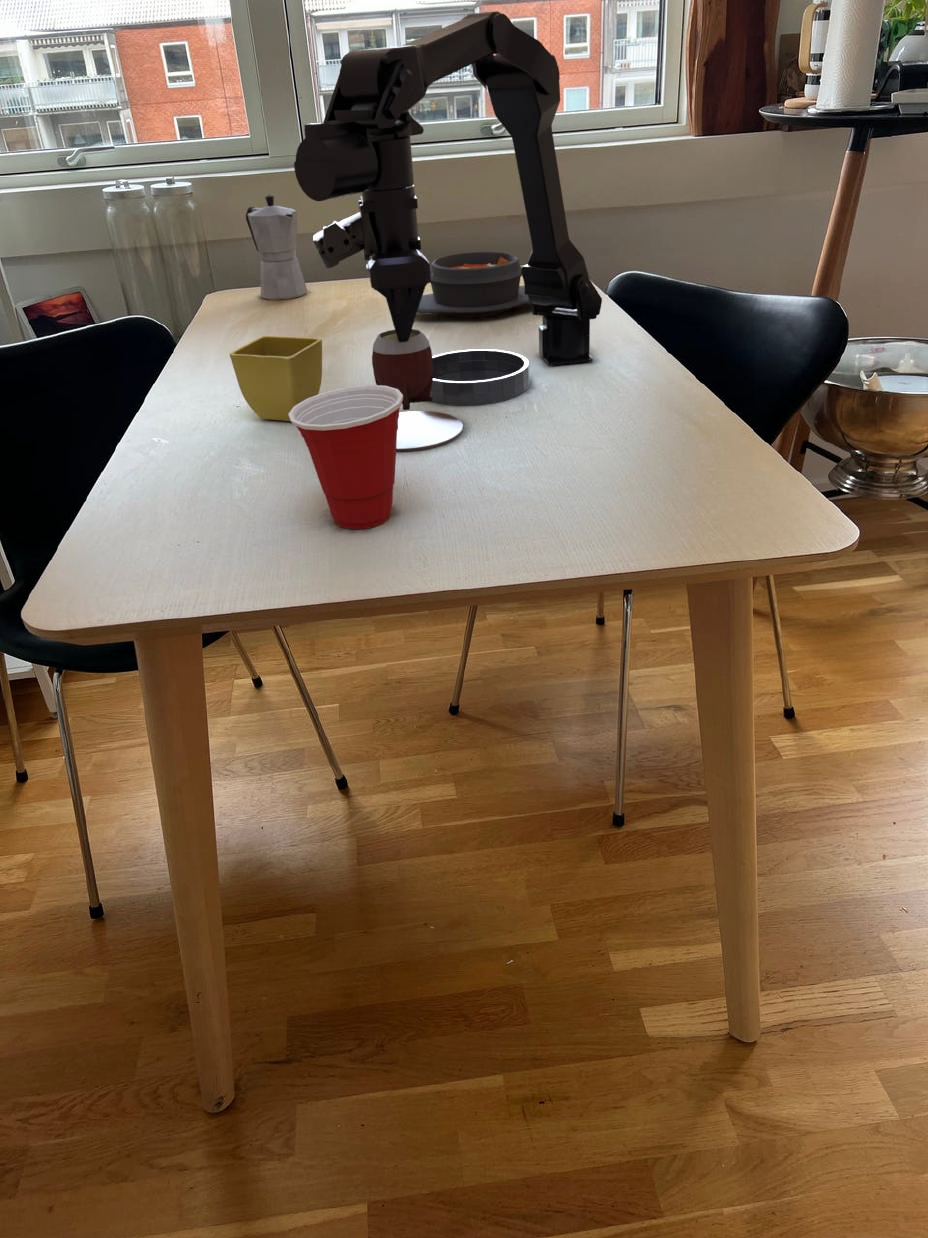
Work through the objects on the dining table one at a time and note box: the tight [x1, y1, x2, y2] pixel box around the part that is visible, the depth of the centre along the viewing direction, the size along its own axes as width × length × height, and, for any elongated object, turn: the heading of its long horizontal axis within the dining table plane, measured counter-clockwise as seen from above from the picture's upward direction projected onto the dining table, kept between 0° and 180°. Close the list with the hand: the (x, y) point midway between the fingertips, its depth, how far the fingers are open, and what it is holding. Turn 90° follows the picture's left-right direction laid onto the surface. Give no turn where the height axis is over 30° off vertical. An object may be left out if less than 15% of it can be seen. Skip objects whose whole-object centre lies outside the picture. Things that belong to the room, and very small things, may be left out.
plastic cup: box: [288, 384, 403, 530], centre depth 90 cm, size 11×11×12 cm
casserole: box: [417, 251, 530, 318], centre depth 162 cm, size 25×19×8 cm
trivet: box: [396, 410, 464, 453], centre depth 113 cm, size 13×13×1 cm
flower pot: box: [229, 335, 323, 422], centre depth 119 cm, size 9×9×9 cm
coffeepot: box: [245, 194, 308, 301], centre depth 180 cm, size 15×9×18 cm, turn 44°
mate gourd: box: [371, 273, 433, 411], centre depth 107 cm, size 8×8×15 cm
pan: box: [430, 348, 530, 407], centre depth 126 cm, size 15×15×3 cm
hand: (401, 335), depth 107 cm, fingers closed on mate gourd, 5 cm apart
